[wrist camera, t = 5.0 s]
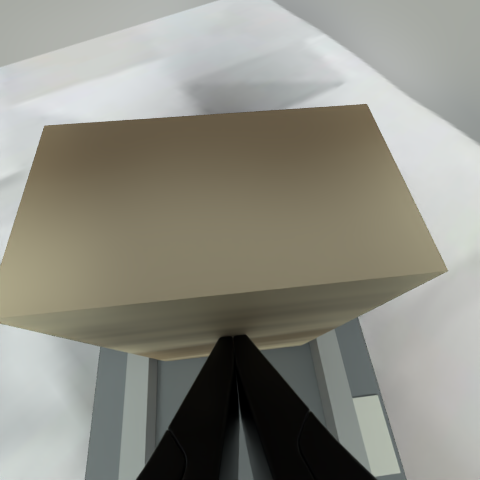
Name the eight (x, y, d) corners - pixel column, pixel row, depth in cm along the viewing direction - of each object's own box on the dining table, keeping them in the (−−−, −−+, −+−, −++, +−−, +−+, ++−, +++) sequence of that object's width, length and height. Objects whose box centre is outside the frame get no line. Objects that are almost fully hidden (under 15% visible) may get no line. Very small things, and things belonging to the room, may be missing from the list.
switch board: (436, 634, 11) (501, 718, 8) (77, 700, 10) (19, 817, 7) (311, 192, 21) (322, 165, 18) (126, 208, 20) (108, 182, 17)
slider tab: (301, 345, 14) (447, 271, 4) (165, 361, 14) (-17, 319, 4) (287, 273, 16) (366, 103, 6) (166, 285, 15) (44, 125, 6)
